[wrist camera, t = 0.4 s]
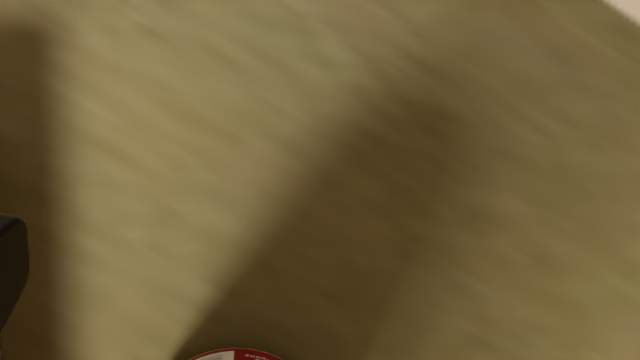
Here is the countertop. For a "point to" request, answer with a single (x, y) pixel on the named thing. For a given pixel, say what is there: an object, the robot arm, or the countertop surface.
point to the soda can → (236, 354)
